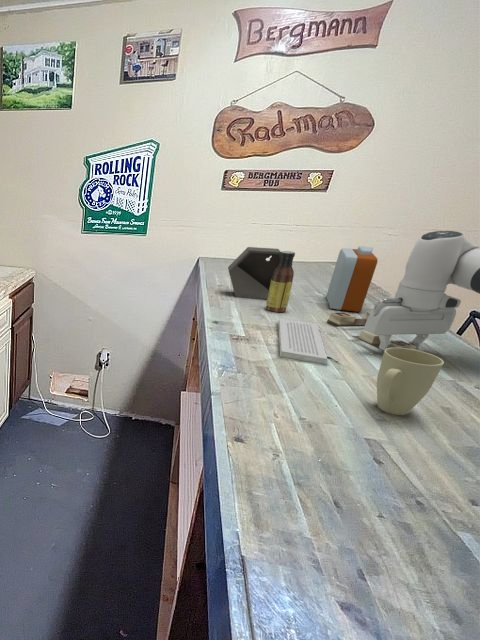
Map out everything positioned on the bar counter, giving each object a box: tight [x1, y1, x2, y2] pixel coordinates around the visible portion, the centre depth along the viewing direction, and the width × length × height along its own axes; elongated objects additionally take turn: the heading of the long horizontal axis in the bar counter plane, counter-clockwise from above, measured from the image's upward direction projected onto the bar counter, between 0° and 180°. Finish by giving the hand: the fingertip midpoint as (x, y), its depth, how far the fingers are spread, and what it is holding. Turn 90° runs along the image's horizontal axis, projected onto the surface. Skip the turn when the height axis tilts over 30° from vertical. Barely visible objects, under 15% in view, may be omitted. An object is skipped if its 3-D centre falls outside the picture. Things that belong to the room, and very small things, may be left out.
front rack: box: [351, 329, 390, 352], centre depth 123 cm, size 6×16×4 cm, turn 3°
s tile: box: [388, 339, 417, 350], centre depth 120 cm, size 5×5×3 cm
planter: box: [227, 246, 282, 300], centre depth 170 cm, size 17×8×21 cm
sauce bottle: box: [265, 250, 296, 313], centre depth 153 cm, size 6×6×20 cm
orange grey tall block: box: [326, 245, 378, 313], centre depth 159 cm, size 18×9×21 cm, turn 150°
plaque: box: [277, 318, 328, 365], centre depth 129 cm, size 30×2×10 cm
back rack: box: [326, 311, 371, 328], centre depth 142 cm, size 17×6×4 cm, turn 93°
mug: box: [376, 348, 445, 416], centre depth 91 cm, size 11×10×12 cm
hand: (398, 349), depth 120 cm, fingers open, 6 cm apart
